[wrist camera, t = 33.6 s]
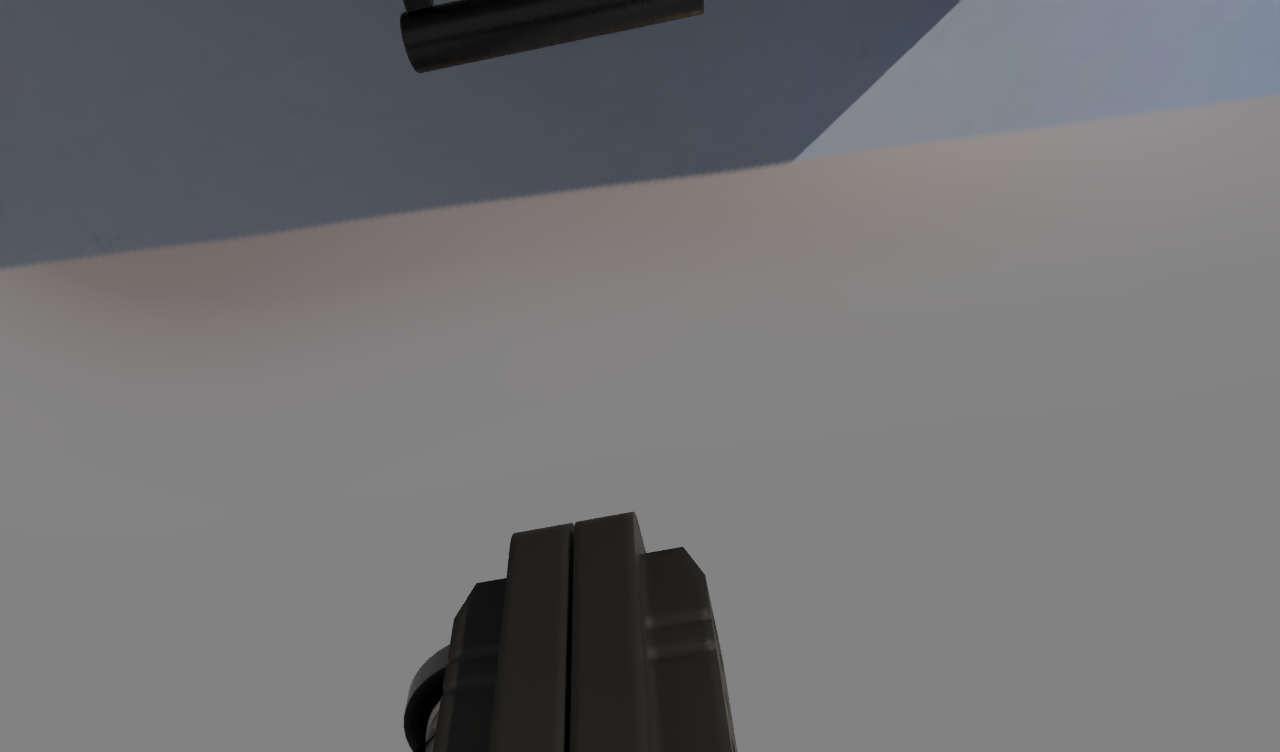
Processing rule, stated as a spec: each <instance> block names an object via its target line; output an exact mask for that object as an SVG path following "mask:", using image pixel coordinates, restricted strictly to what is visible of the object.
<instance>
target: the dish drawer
mask: <svg viewBox="0 0 1280 752" xmlns="http://www.w3.org/2000/svg"><path fill="white" fill-rule="evenodd" d="M403 2H404V5H405V9H406V11H407V12H403V13H402V14H401V16H400V27H401V34H402V39H403V43H404V46H405V50H406V53H407V55H408V58H409V60H410V63H411V65H412V66H413V68H414V70H415V71H416V72H417V73H424V72H429V71H434V70H439V69H443V68H448V67H453V66H458V65H462V64H467V63H472V62H477V61H481V60H486V59H491V58H496V57H501V56H505V55H510V54H515V53H520V52H524V51H529V50H534V49H539V48H543V47H548V46H553V45H558V44H563V43H567V42H572V41H577V40H582V39H586V38H591V37H596V36H601V35H605V34H610V33H615V32H620V31H625V30H629V29H634V28H639V27H644V26H648V25H653V24H658V23H663V22H667V21H672V20H677V19H682V18H687V17H691V16H696V15H701V14H703V12H704V1H703V0H458V1H453V2H449V3H444V4H439V5H435V6H432V5H433V4H434V0H403Z"/></svg>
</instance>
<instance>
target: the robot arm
mask: <svg viewBox="0 0 1280 752" xmlns="http://www.w3.org/2000/svg"><path fill="white" fill-rule="evenodd" d="M448 658H449V664H447V666H446V672H445V678H444V684H443V690H444V694H443V695H442V696H441V697H440V698H439V699H438V700H437V702H436V703H435V705H434V706H433V708H432V710H431V712H430V716H429V720H428V725H427V731H426V748H425V752H737V747H736V741H735V735H734V728H733V722H732V716H731V709H730V703H729V697H728V690H727V684H726V677H725V671H724V664H723V659H722V654H721V649H720V644H719V640H718V635H717V630H716V626H715V620H714V616H713V611H712V606H711V602H710V596H709V592H708V587H707V582H706V577H705V574H704V573H703V572H702V571H701V569H700V568H699V567H698V565H697V564H696V563H695V562H694V560H693V559H692V558H691V557H690V555H689V554H688V553H687V551H686V550H685V549H684V548H683V547H680V548H674V549H668V550H662V551H657V552H651V553H646V551H645V548H644V544H643V539H642V536H641V532H640V528H639V524H638V520H637V517H636V514H635V512H629V513H624V514H618V515H612V516H607V517H602V518H595V519H590V520H585V521H579V522H576V523H575V526H574V525H573V524H572V523H569V524H564V525H558V526H553V527H547V528H541V529H535V530H530V531H524V532H518V533H514V534H513V535H512V538H511V543H510V551H509V560H508V570H507V578H504V579H499V580H493V581H487V582H482V583H477V584H476V585H475V586H474V588H473V590H472V591H471V593H470V594H469V597H468V598H467V600H466V601H465V603H464V604H463V606H462V607H461V609H460V610H459V612H458V614H457V615H456V617H455V619H454V623H453V629H452V636H451V642H450V648H449V654H448Z"/></svg>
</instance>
